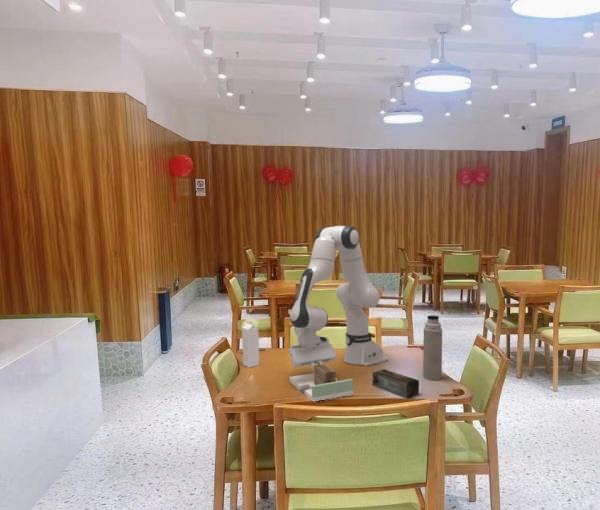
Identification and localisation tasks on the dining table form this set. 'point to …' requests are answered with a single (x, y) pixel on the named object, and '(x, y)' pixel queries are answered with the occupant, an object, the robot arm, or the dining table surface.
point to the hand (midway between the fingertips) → (318, 372)
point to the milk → (250, 344)
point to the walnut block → (323, 374)
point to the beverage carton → (396, 383)
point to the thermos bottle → (432, 349)
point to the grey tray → (322, 387)
